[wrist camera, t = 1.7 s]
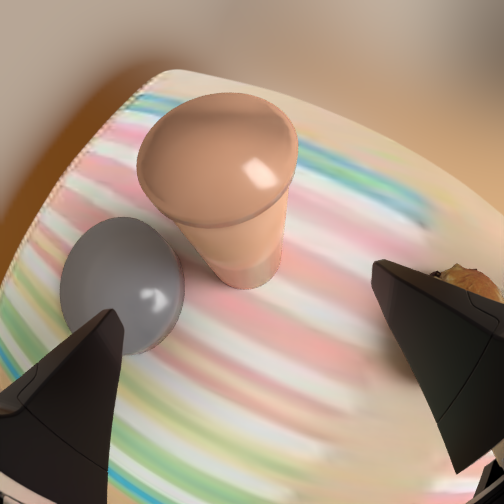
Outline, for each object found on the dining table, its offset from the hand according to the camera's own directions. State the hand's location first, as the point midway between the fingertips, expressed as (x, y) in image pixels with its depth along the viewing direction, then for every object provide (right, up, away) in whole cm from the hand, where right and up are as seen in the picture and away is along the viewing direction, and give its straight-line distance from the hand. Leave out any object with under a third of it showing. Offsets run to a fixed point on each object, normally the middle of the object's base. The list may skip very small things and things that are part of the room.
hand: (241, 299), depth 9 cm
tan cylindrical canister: (0, +1, +13) cm, 13 cm away
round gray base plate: (-10, -2, +13) cm, 16 cm away
